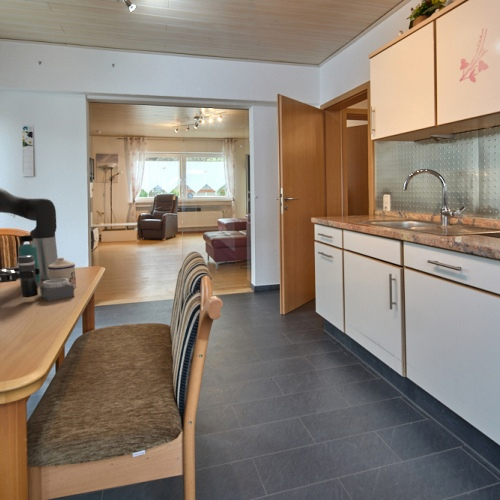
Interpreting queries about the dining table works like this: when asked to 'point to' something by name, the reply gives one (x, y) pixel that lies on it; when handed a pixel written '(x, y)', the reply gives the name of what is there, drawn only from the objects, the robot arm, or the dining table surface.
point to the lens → (29, 283)
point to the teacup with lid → (63, 270)
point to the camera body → (56, 289)
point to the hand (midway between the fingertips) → (36, 272)
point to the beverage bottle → (29, 252)
